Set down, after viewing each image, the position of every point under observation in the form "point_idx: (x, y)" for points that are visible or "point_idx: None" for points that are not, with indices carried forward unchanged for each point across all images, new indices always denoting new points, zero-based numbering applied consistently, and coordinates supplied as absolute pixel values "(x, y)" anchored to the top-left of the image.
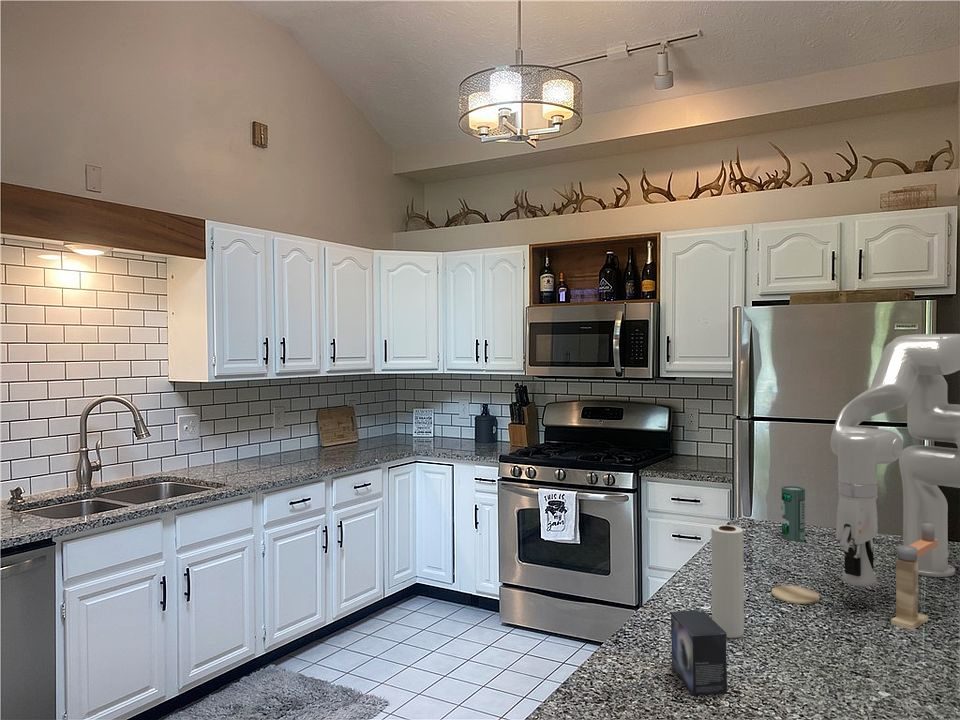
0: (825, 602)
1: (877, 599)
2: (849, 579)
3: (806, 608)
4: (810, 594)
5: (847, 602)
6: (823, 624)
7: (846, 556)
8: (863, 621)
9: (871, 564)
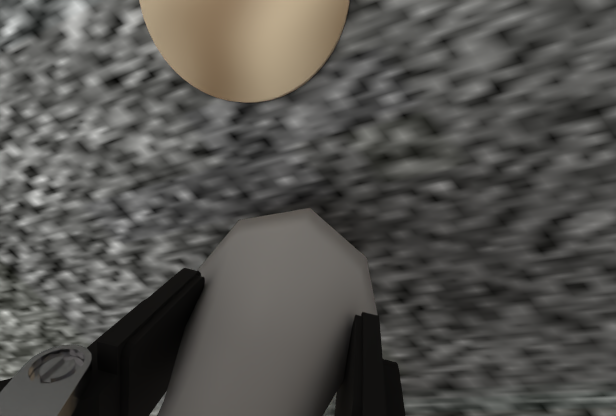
0: (264, 128)
1: (433, 278)
2: (201, 274)
3: (146, 89)
4: (269, 56)
5: (323, 197)
6: (55, 186)
7: (101, 352)
8: None
9: (335, 411)
